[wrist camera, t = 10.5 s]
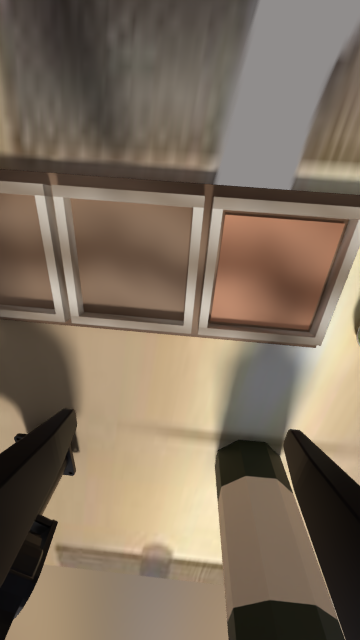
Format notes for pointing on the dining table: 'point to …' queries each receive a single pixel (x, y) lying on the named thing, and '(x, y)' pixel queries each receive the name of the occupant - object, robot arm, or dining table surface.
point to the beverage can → (358, 336)
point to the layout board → (174, 256)
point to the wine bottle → (267, 552)
